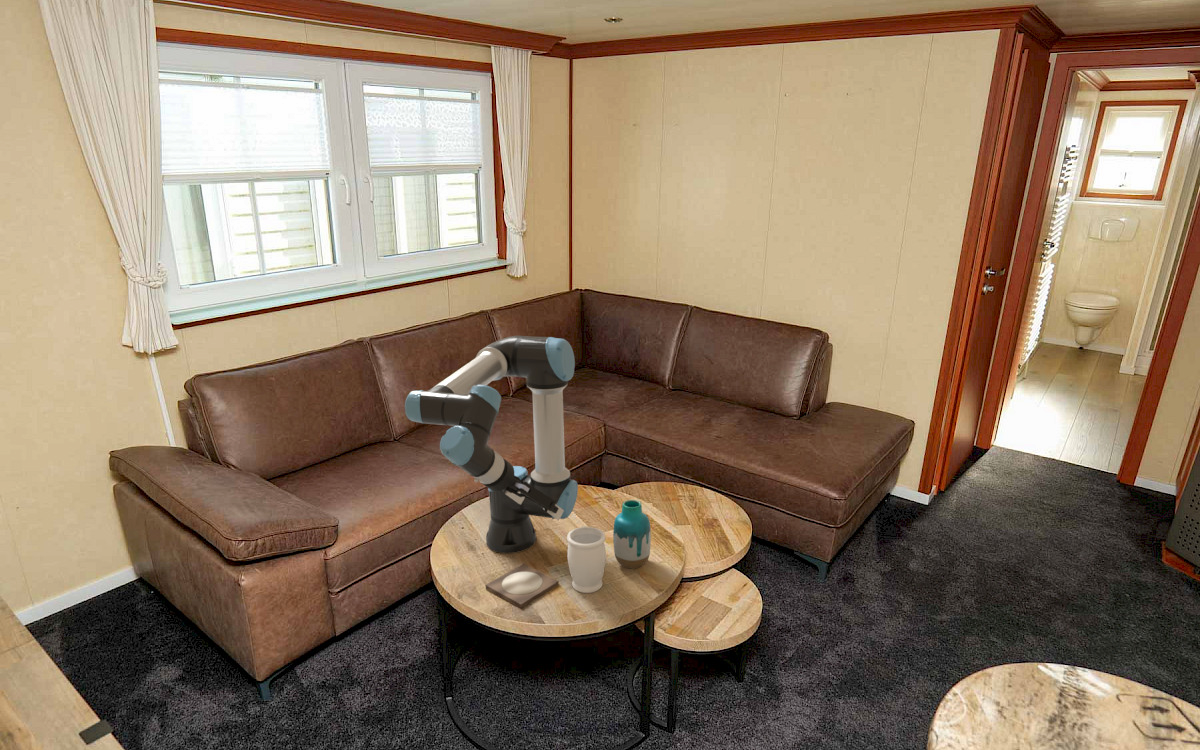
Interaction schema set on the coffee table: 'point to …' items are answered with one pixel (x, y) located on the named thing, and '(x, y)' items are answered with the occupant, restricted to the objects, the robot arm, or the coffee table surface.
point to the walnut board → (522, 585)
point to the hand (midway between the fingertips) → (541, 507)
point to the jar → (586, 558)
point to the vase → (632, 535)
